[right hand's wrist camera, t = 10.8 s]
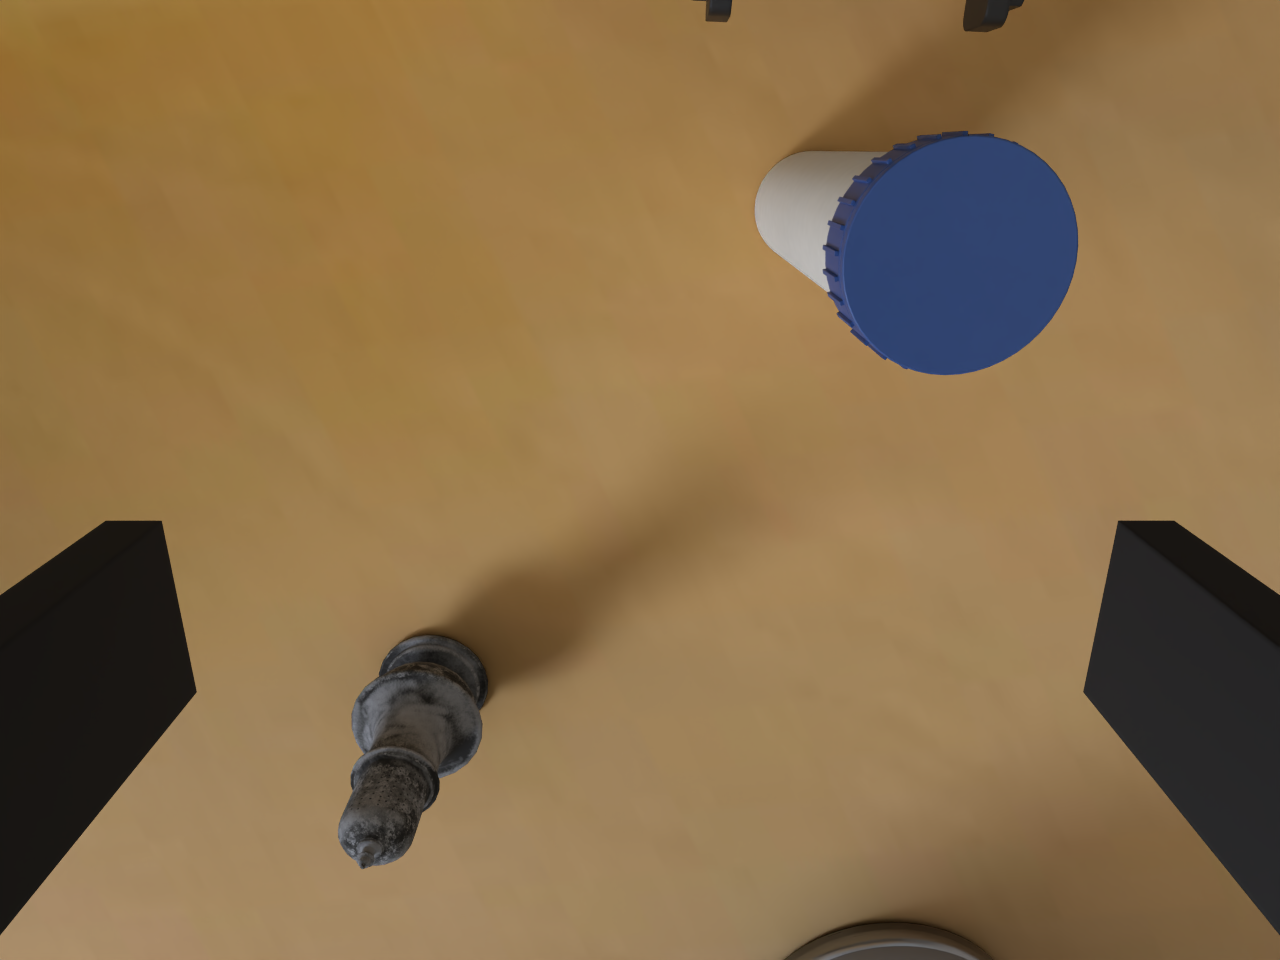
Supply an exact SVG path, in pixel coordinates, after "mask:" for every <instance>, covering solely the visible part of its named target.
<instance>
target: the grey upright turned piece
mask: <svg viewBox="0 0 1280 960" xmlns="http://www.w3.org/2000/svg"><path fill="white" fill-rule="evenodd" d="M487 691H488V679H487V676H486V672H485V668H484V667H483V665H482V663H481V662H480V660H479V658H478V657H477V656H476V655H475V654H474V653H473V652H472V651H471V650H470V649H469V648H467V647H466V646H464V645H462V644H461V643H459V642H457V641H455V640H452V639H449V638H446V637H443V636H433V635H424V636H417V637H413V638H410V639H408V640H405V641H403V642H401V643H399V644H398V645H397V646H396V647H394V648H393V649H392V650H391V651H390V652H389V653H388V655H387V656H386V658H385V659H384V660H383V663H382V666H381V669H380V672H379V677H378V678H376V679H375V680H374V681H372V682H371V683H370V684H368V685H367V686H366V687H365V688H364V689H363V691H362V692H361V694H360V695H359V696H358V698H357V699H356V702H355V705H354V708H353V711H352V730H353V733H354V736H355V740H356V742H357V744H358V745H359V747H360V748H361V750H362V751H363V753H364V755H363V756H361V757H360V758H359V759H358V761H357V762H356V763H355V765H354V767H353V770H352V773H351V787H352V789H353V792H352V794H351V797H350V799H349V801H348V803H347V806H346V808H345V810H344V812H343V815H342V817H341V820H340V823H339V828H338V838H339V841H340V844H341V846H342V847H343V849H344V850H345V852H346V853H347V854H348V855H349V856H350V857H351V858H352V859H354V860H356V861H357V863H358V865H359V866H360V868H361V869H364V868H367V867H370V866H372V865H376V866H377V865H385V864H387V863H390V862H393V861H395V860H397V859H399V858H400V857H402V856H403V855H404V854H405V853H406V851H407V850H408V849H409V847H410V846H411V844H412V841H413V839H414V836H415V833H416V830H417V827H418V824H419V820H420V817H421V814H422V812H424V811H425V810H427V809H428V808H430V806H431V805H432V804H433V803H434V801H435V800H436V798H437V795H438V792H439V783H440V781H439V778H442V777H444V776H447V775H450V774H452V773H455V772H456V771H458V770H459V769H461V768H462V767H463V766H465V765H466V764H468V762H469V761H470V760H471V758H472V757H473V756H474V755H475V753H476V752H477V749H478V747H479V744H480V741H481V738H482V720H481V717H480V713H479V710H480V709H481V708H482V706H483V704H484V701H485V699H486V696H487Z"/></svg>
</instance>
